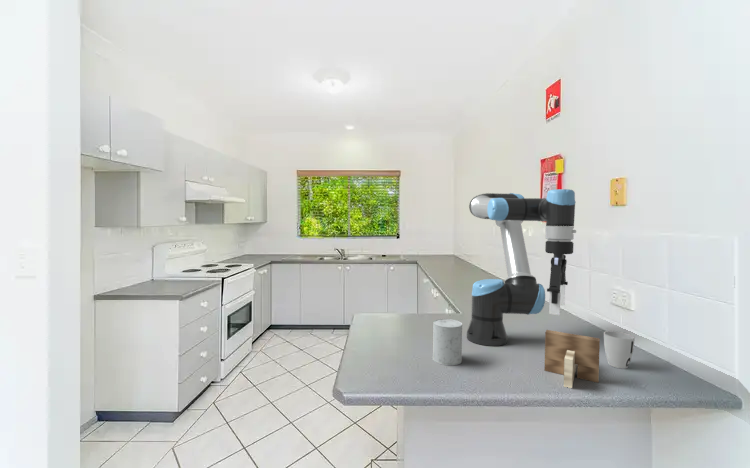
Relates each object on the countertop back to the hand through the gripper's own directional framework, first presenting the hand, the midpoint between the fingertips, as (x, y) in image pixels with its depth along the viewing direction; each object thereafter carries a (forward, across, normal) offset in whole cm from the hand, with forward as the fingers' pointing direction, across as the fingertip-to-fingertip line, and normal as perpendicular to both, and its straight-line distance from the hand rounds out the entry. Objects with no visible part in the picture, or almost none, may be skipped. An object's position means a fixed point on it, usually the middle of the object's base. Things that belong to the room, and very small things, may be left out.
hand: (557, 309), depth 104 cm
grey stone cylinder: (+20, -11, +31) cm, 38 cm away
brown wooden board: (+19, 0, -4) cm, 20 cm away
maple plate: (+19, 0, -4) cm, 20 cm away
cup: (+19, +17, -16) cm, 30 cm away
